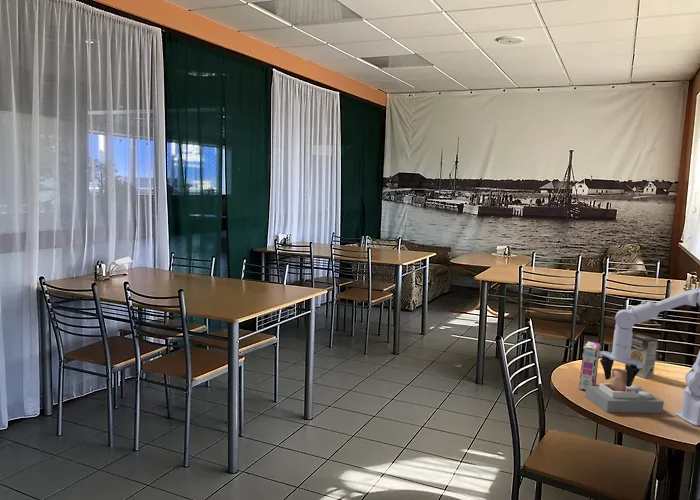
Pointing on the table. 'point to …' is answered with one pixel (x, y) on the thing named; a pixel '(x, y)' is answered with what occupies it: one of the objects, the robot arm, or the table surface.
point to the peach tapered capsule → (618, 380)
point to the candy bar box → (589, 365)
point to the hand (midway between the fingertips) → (618, 382)
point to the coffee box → (644, 354)
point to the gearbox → (624, 399)
